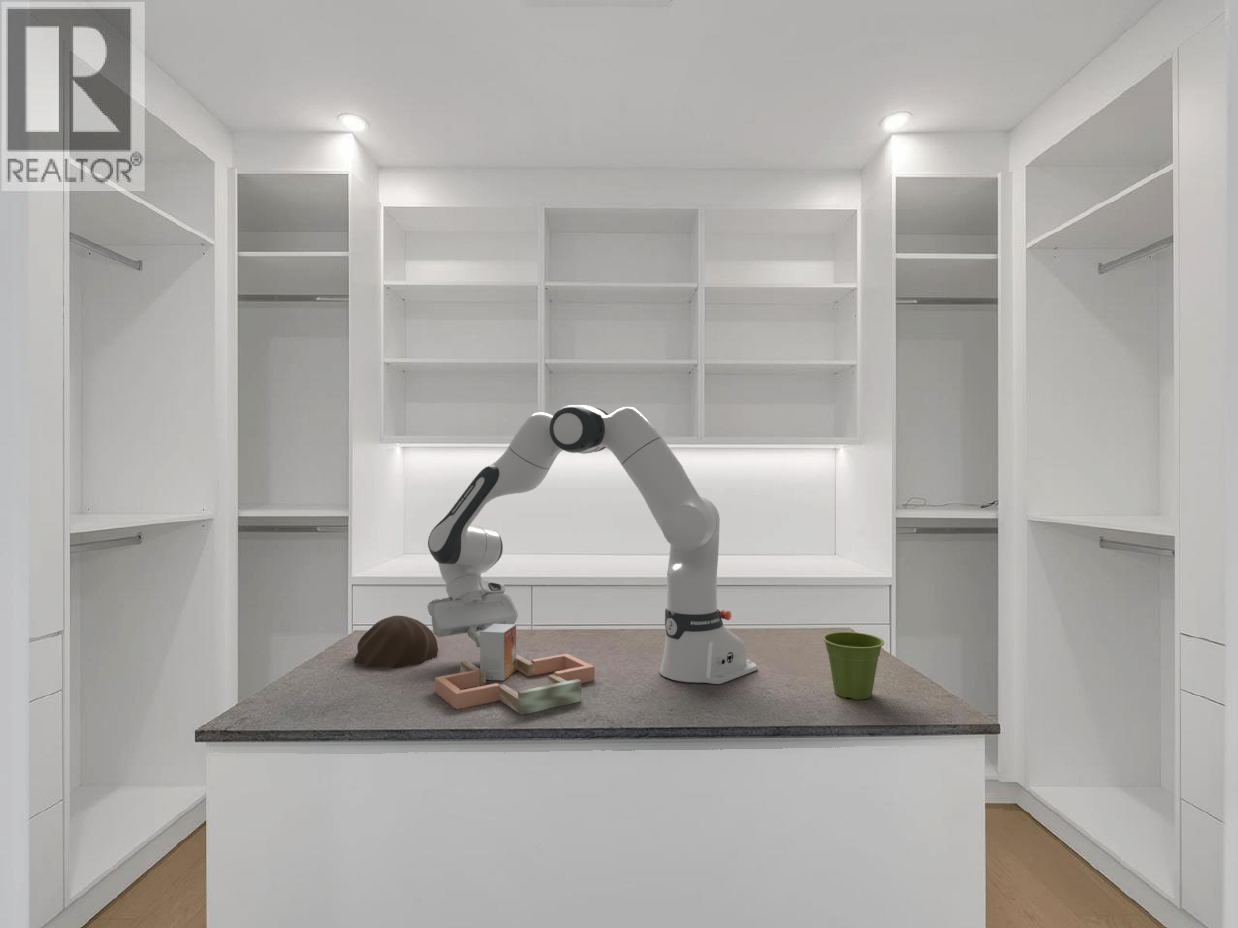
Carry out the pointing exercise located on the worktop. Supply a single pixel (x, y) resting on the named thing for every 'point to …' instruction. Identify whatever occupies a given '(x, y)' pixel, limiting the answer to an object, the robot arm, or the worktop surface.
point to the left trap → (465, 698)
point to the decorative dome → (396, 643)
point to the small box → (498, 651)
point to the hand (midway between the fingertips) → (484, 645)
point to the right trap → (565, 667)
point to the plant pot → (853, 662)
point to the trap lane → (533, 689)
